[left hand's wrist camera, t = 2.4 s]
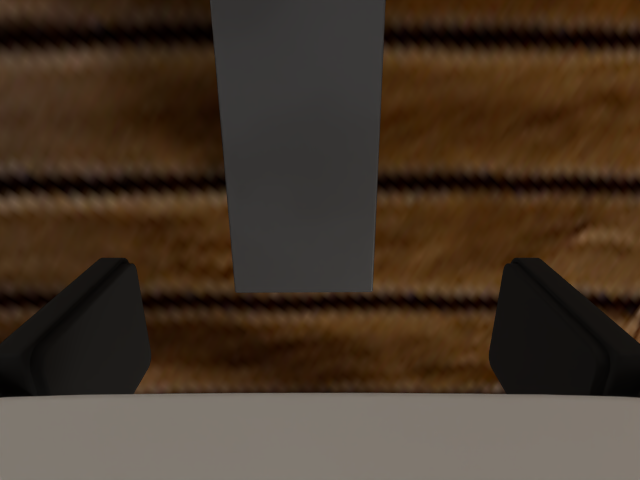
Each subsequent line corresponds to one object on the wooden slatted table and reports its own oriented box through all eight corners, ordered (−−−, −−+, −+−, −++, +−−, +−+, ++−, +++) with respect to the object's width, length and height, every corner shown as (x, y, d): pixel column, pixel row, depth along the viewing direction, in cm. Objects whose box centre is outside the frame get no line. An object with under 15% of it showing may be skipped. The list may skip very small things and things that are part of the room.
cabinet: (239, -172, 21) (178, -357, 12) (366, -172, 21) (401, -359, 12) (262, 222, 29) (235, 293, 20) (355, 222, 29) (372, 292, 20)
